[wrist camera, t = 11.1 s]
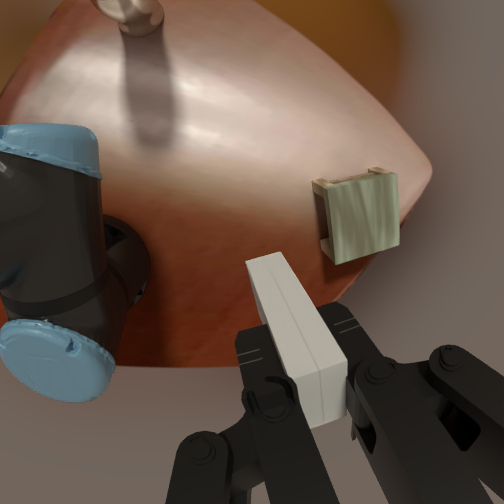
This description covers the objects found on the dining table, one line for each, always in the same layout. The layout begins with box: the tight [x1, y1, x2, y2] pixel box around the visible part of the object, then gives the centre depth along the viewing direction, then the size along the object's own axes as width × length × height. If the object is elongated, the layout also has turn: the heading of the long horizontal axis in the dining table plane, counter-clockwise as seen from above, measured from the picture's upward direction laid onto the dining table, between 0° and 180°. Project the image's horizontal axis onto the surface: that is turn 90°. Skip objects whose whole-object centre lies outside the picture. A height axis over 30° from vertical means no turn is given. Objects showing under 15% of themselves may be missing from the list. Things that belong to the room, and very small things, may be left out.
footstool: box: [312, 167, 399, 265], centre depth 43 cm, size 6×11×11 cm
